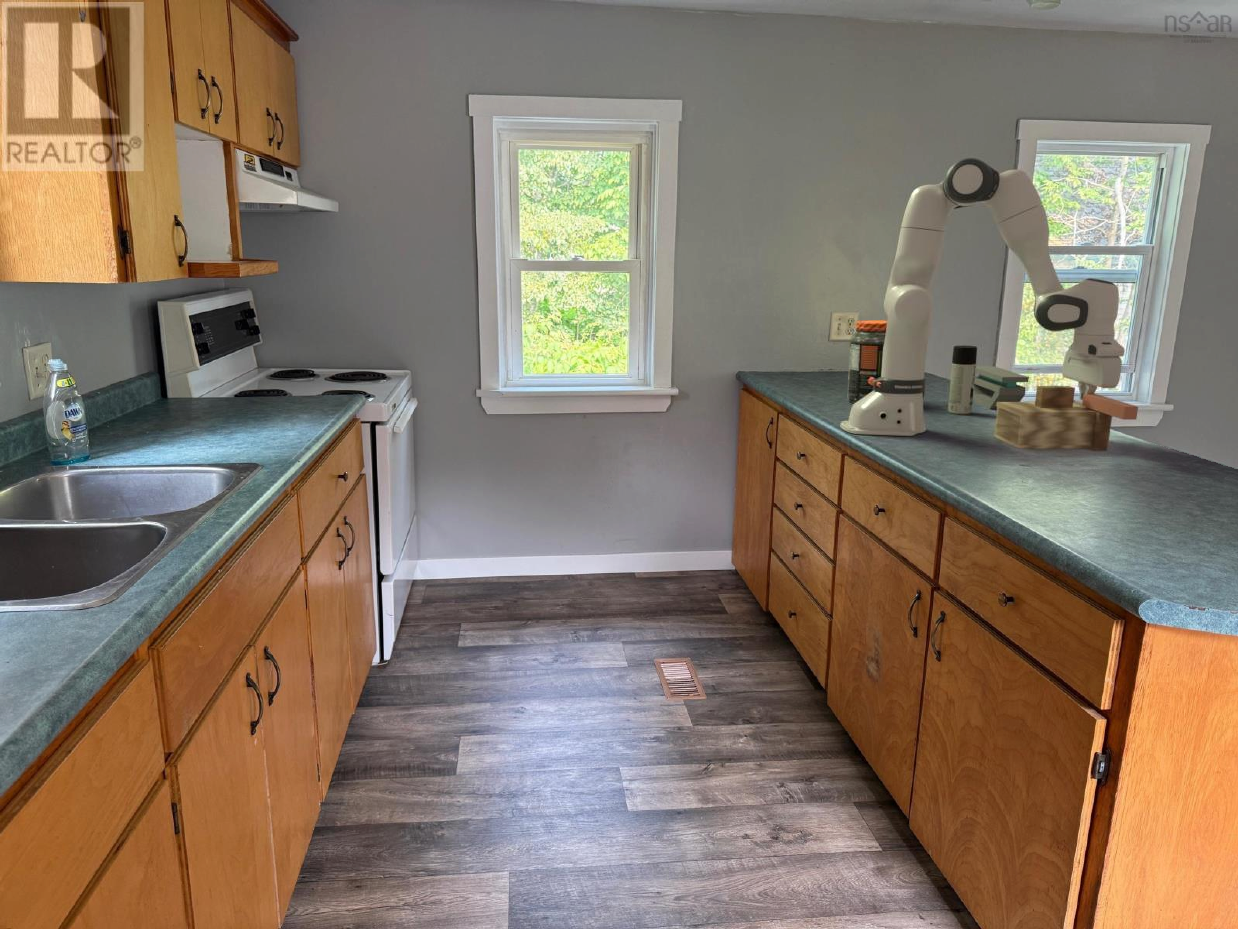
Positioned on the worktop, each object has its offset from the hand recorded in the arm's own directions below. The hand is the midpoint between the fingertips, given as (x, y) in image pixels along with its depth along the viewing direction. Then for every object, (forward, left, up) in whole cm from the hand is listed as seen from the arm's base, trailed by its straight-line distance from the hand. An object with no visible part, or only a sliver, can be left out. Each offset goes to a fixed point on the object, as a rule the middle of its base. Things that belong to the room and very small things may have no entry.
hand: (1085, 400), depth 213 cm
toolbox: (-8, 0, -11) cm, 13 cm away
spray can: (-15, +41, -11) cm, 45 cm away
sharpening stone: (0, +53, -11) cm, 54 cm away
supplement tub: (-36, +60, -11) cm, 70 cm away
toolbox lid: (-8, -1, -4) cm, 9 cm away
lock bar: (0, -11, -1) cm, 11 cm away
